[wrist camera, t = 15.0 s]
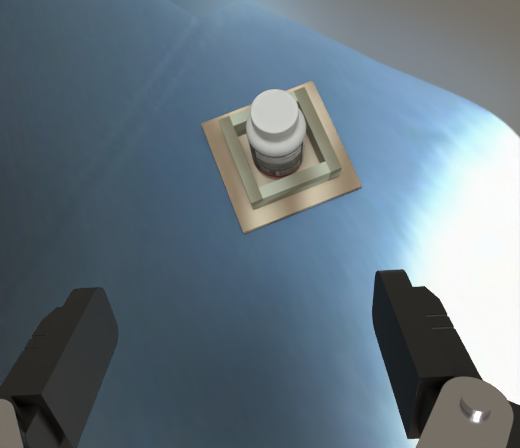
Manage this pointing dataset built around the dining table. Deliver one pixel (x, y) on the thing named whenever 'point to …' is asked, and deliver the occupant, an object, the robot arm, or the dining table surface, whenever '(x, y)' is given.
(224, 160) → the holder
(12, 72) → the dining table surface
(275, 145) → the pill bottle
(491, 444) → the robot arm
